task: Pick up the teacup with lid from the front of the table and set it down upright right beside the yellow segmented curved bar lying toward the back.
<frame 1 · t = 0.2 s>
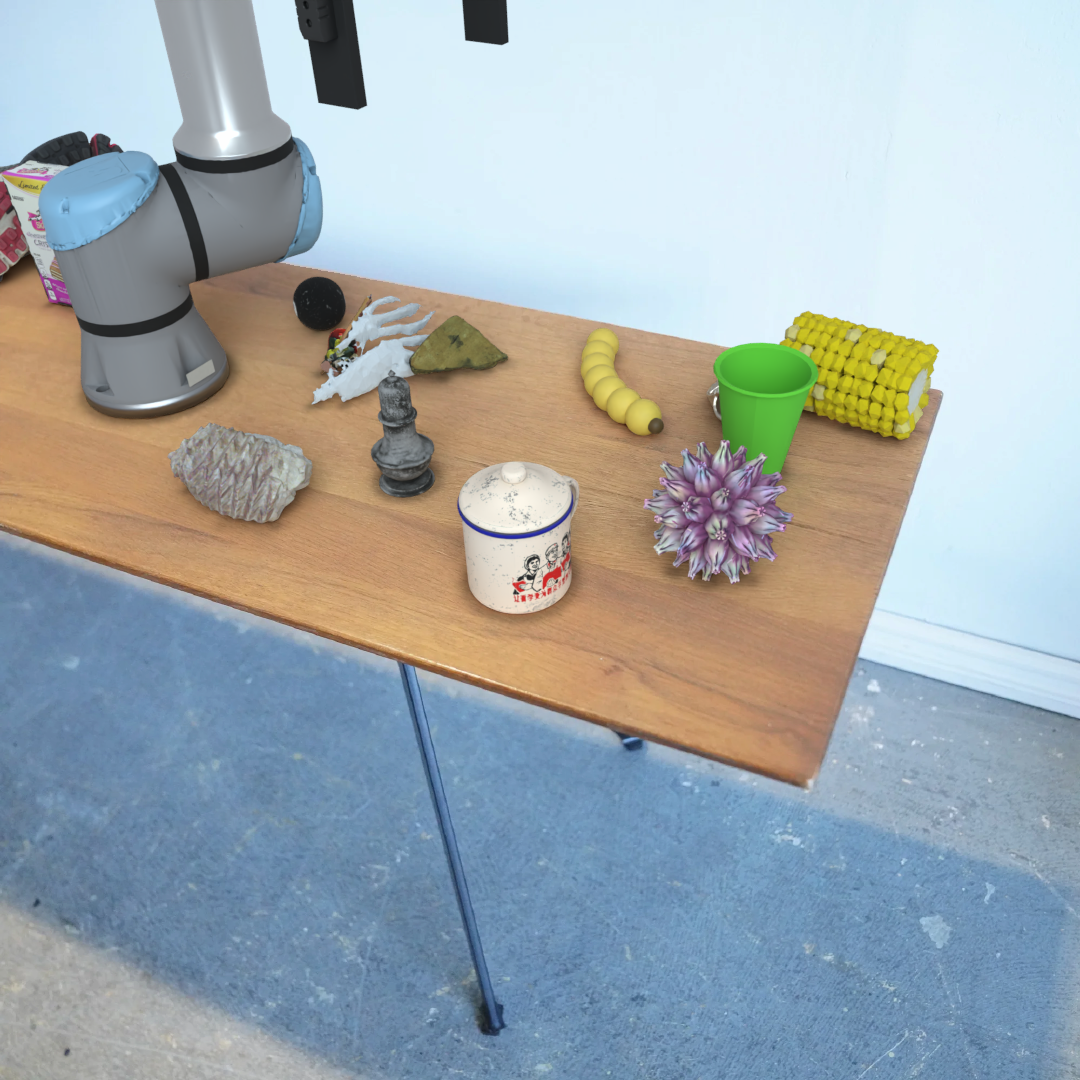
hand: (420, 71, 58), 41 cm above the table, tool pointing down, fingers open, 13 cm apart
decorative object: (407, 371, 111), on the table, touching stone, toy figure
food: (833, 404, 96), point 4 cm above the table
stone: (460, 379, 111), on the table, touching decorative object
grey ridged fossil rock: (251, 494, 95), on the table
toy figure: (349, 346, 108), point 4 cm above the table, touching decorative object
cup: (752, 471, 96), on the table
flower: (712, 566, 86), on the table
ornament: (747, 405, 103), point 1 cm above the table
candy bar box: (96, 303, 127), on the table
running shoe: (4, 201, 128), point 9 cm above the table
yellow segmented curved bar: (601, 396, 106), on the table
billiard ball: (324, 328, 120), on the table
teacup with lid: (531, 573, 86), on the table
grey carved upright piece: (407, 482, 96), on the table
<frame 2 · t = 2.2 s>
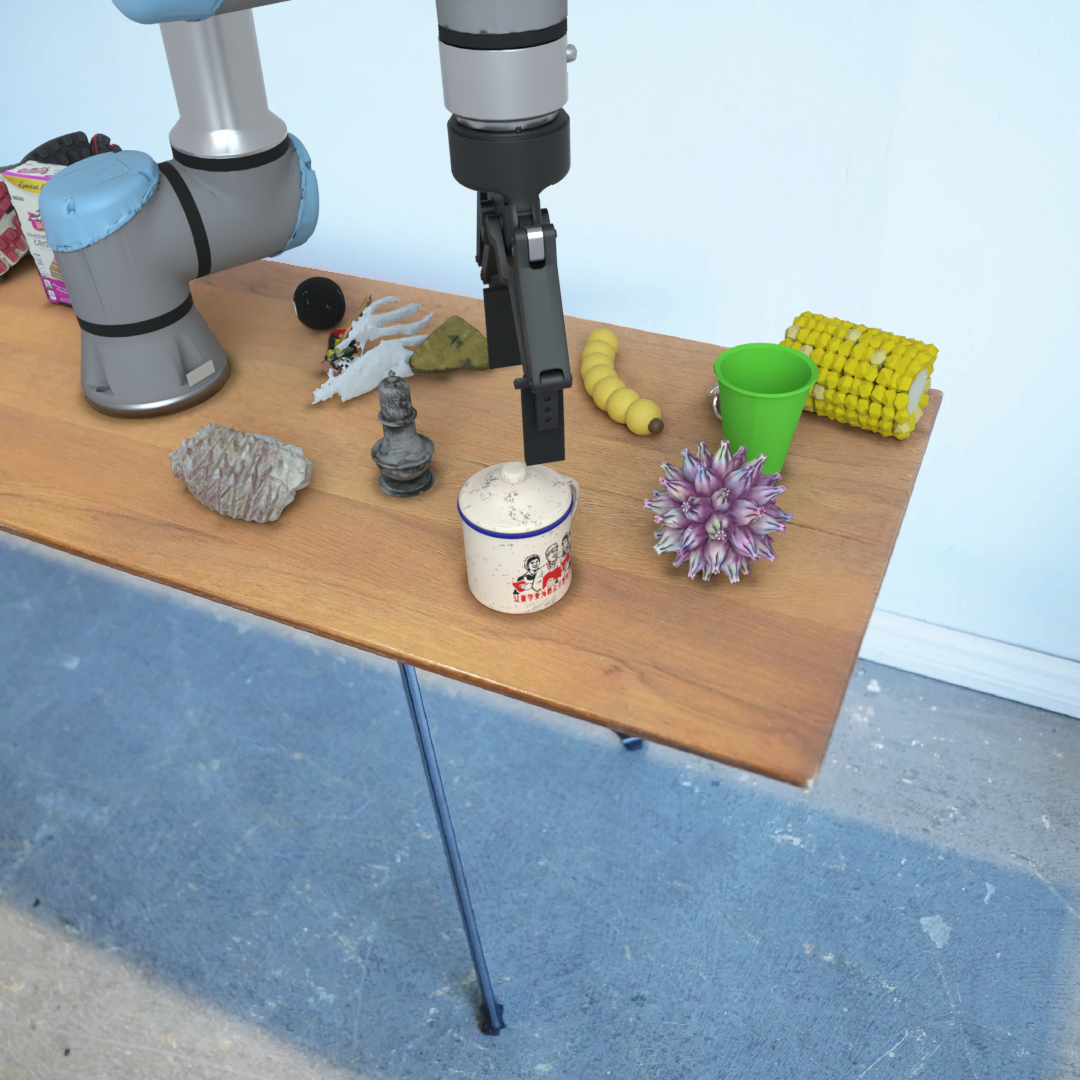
hand: (524, 409, 75), 16 cm above the table, tool pointing down, fingers open, 13 cm apart
nothing on the table moved.
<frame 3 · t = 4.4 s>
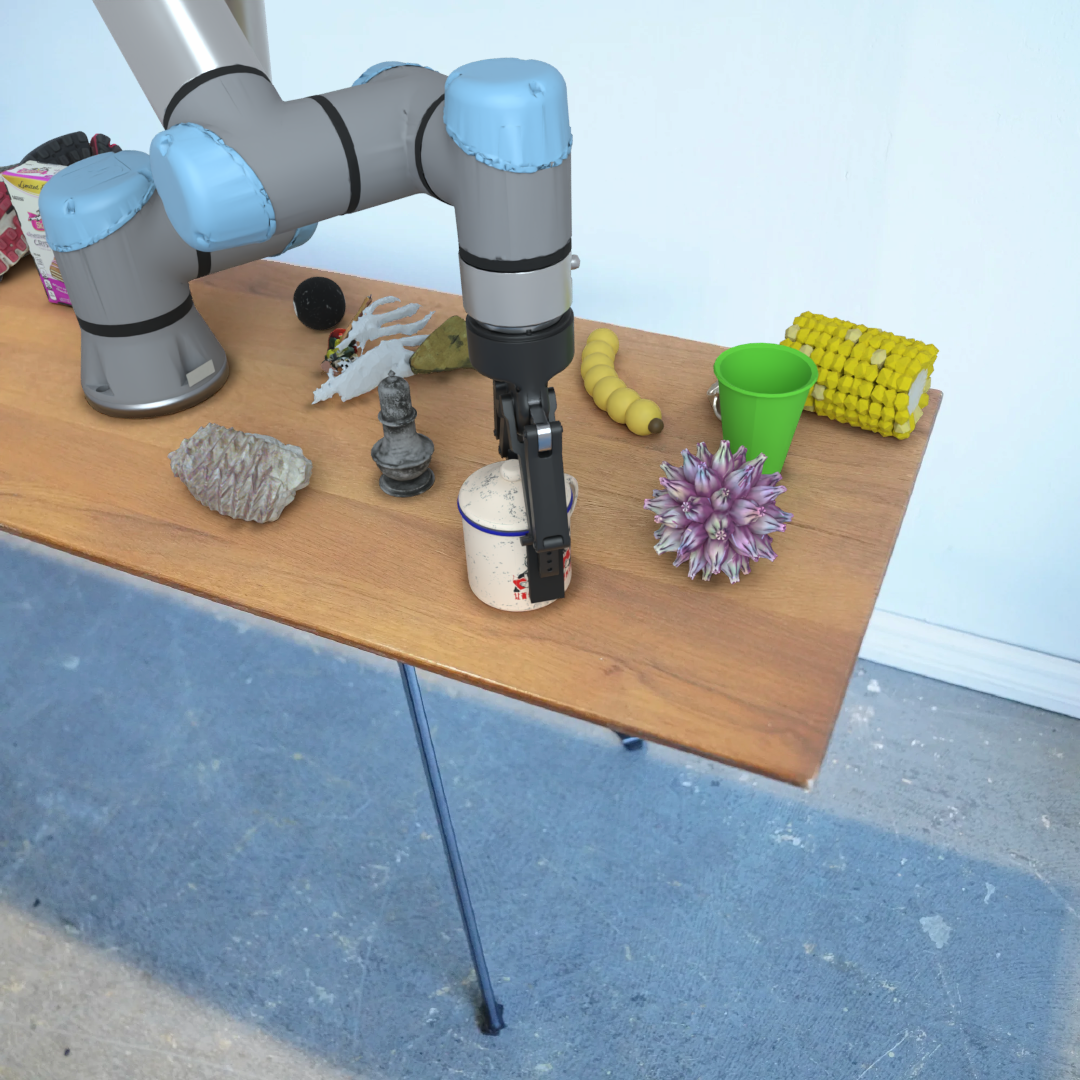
hand: (533, 558, 84), 2 cm above the table, tool pointing down, fingers closed on teacup with lid, 9 cm apart
teacup with lid: (531, 571, 86), on the table, touching gripper
everything else where it was.
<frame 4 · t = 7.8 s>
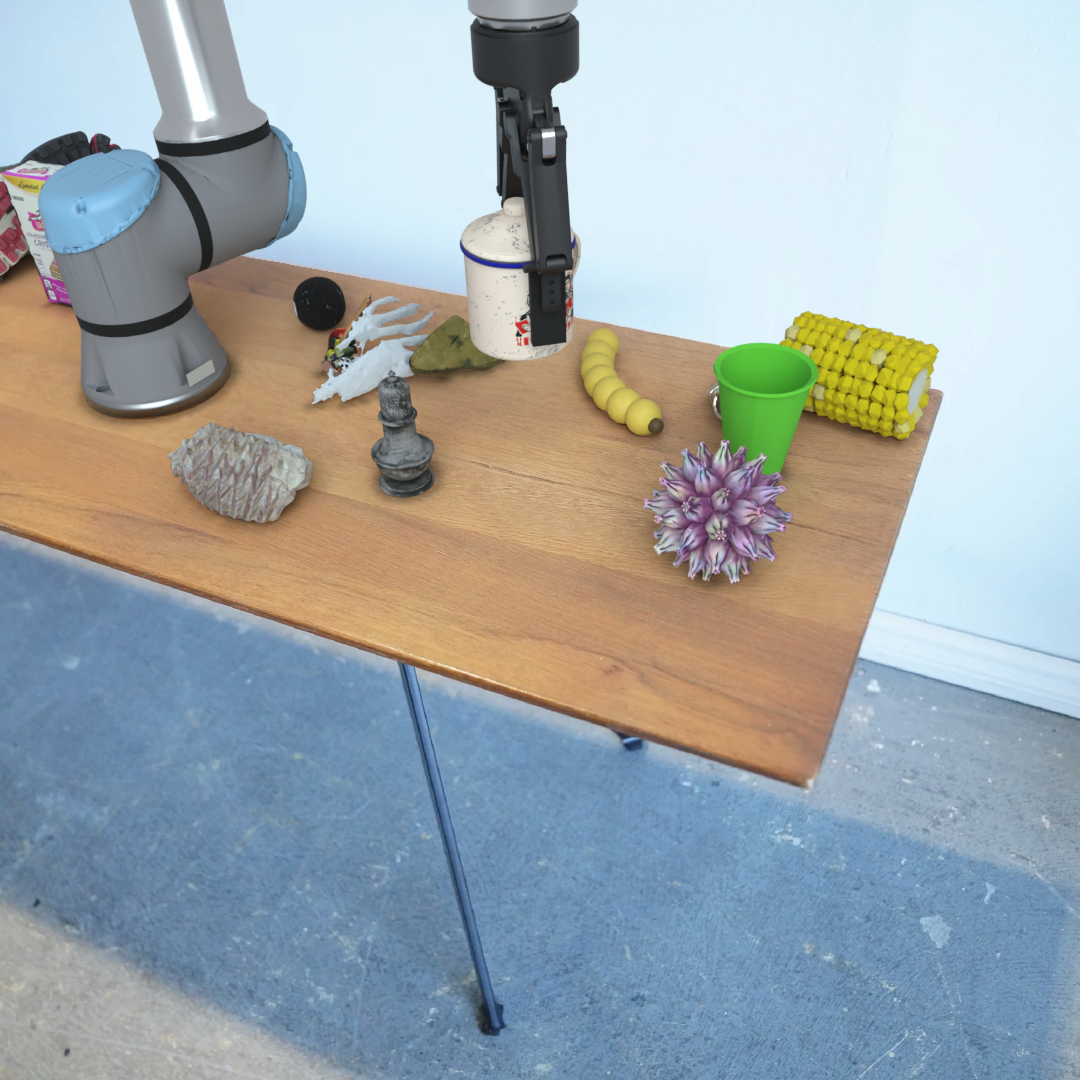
hand: (535, 314, 84), 17 cm above the table, tool pointing down, fingers closed on teacup with lid, 9 cm apart
teacup with lid: (533, 332, 86), point 15 cm above the table, touching gripper
everything else where it was.
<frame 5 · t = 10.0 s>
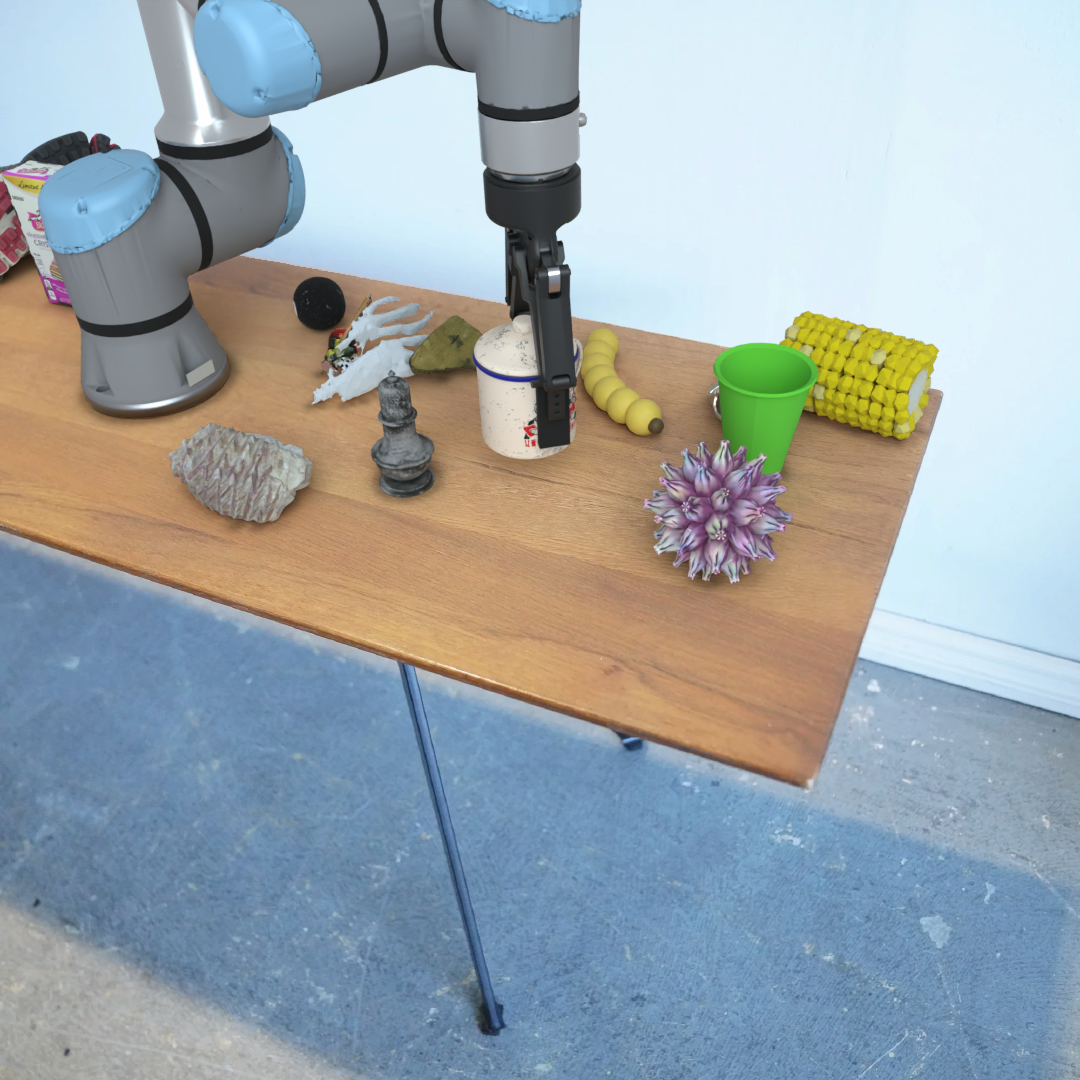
hand: (541, 414, 91), 7 cm above the table, tool pointing down, fingers closed on teacup with lid, 9 cm apart
teacup with lid: (539, 428, 93), point 5 cm above the table, touching gripper
everything else where it was.
when the fingers open (2 cm above the table, at t = 11.6 s): teacup with lid stays where it is, on the table.
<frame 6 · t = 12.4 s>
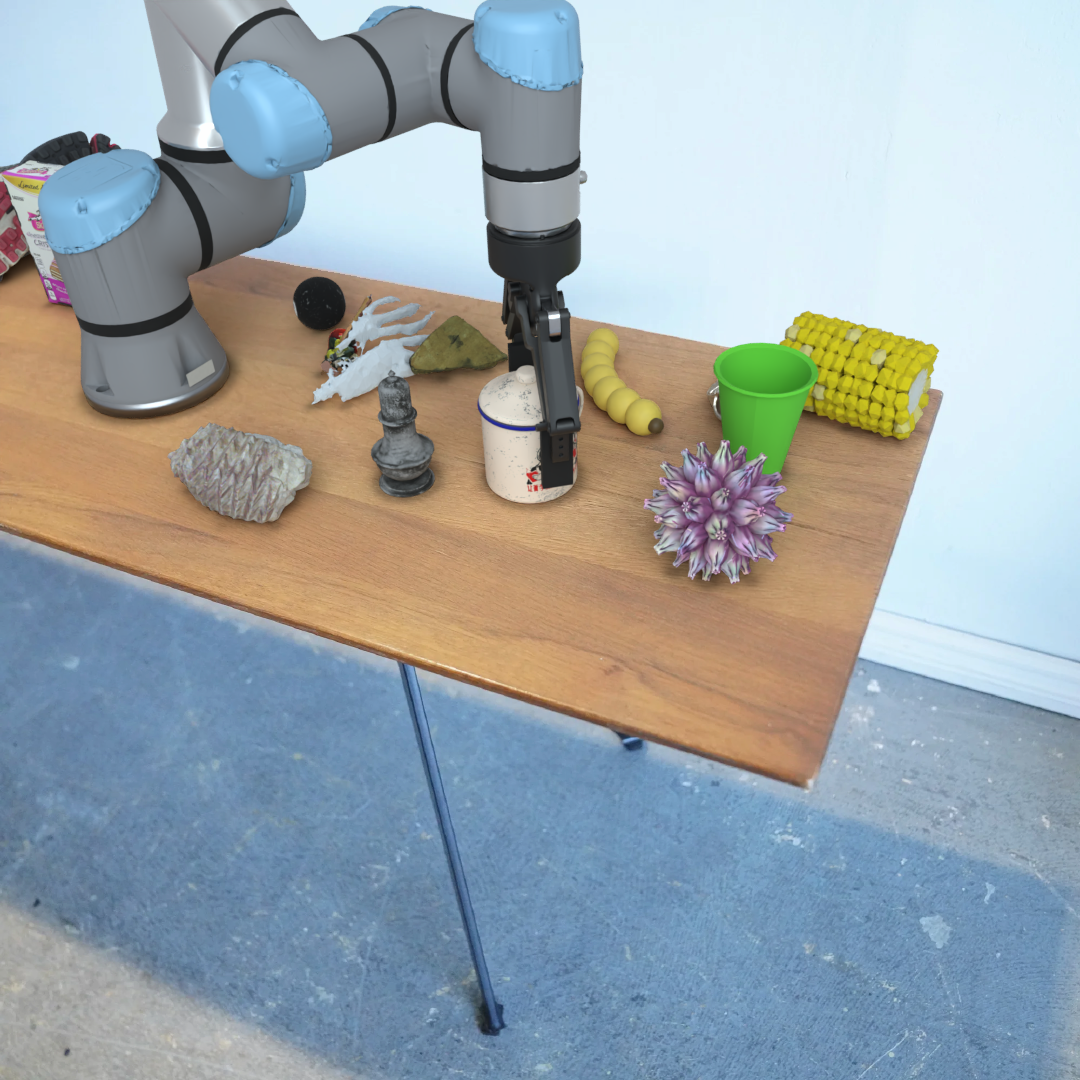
hand: (540, 441, 94), 4 cm above the table, tool pointing down, fingers open, 13 cm apart
teacup with lid: (541, 472, 97), on the table
everything else where it was.
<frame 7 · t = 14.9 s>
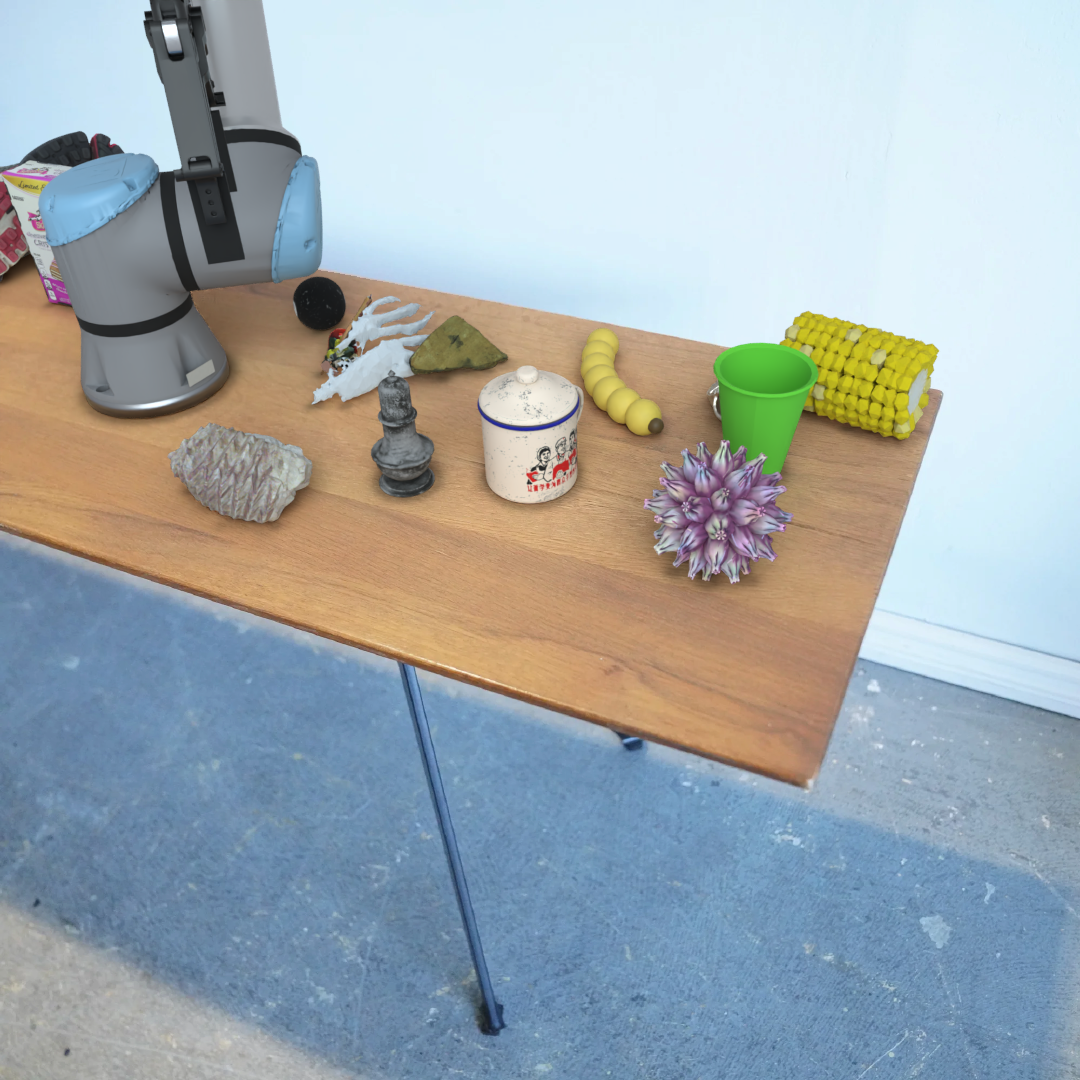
hand: (223, 224, 81), 25 cm above the table, tool pointing down, fingers open, 13 cm apart
nothing on the table moved.
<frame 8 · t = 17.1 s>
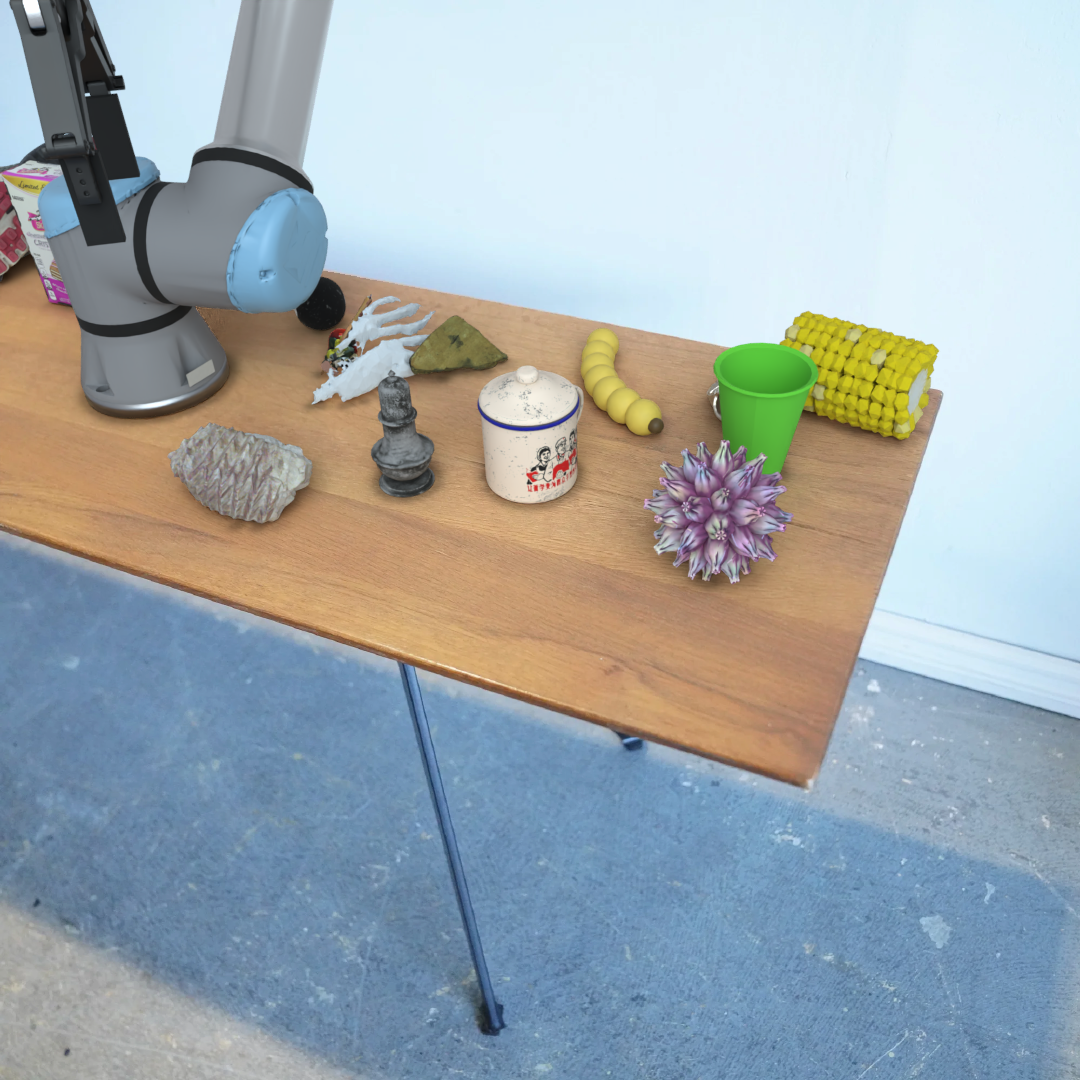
hand: (115, 208, 80), 27 cm above the table, tool pointing down, fingers open, 13 cm apart
nothing on the table moved.
at the end: teacup with lid 14.3 cm from the yellow segmented curved bar (horizontally); teacup with lid tilted 0°; teacup with lid moved 14.4 cm from its start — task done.
